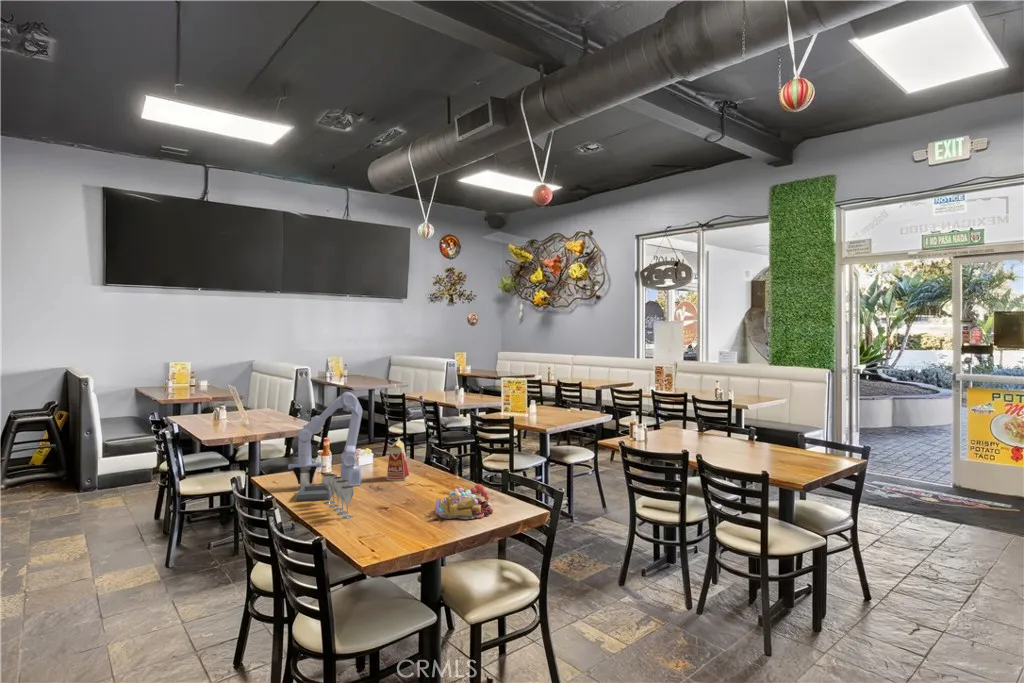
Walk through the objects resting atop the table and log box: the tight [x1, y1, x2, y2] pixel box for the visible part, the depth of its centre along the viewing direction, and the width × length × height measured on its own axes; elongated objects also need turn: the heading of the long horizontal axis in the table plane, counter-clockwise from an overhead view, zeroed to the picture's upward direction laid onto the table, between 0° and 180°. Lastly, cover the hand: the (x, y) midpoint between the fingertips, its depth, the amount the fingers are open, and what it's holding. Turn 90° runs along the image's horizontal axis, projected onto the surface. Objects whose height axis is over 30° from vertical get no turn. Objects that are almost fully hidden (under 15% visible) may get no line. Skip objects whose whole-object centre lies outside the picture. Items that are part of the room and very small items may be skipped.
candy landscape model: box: [434, 483, 494, 520], centre depth 221 cm, size 25×24×9 cm
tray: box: [295, 484, 333, 503], centre depth 242 cm, size 14×14×3 cm
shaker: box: [299, 468, 312, 490], centre depth 254 cm, size 5×5×9 cm
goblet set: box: [321, 473, 354, 520], centre depth 224 cm, size 28×6×13 cm, turn 36°
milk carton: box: [386, 437, 410, 482], centre depth 271 cm, size 9×9×20 cm
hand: (305, 483), depth 254 cm, fingers closed on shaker, 5 cm apart
